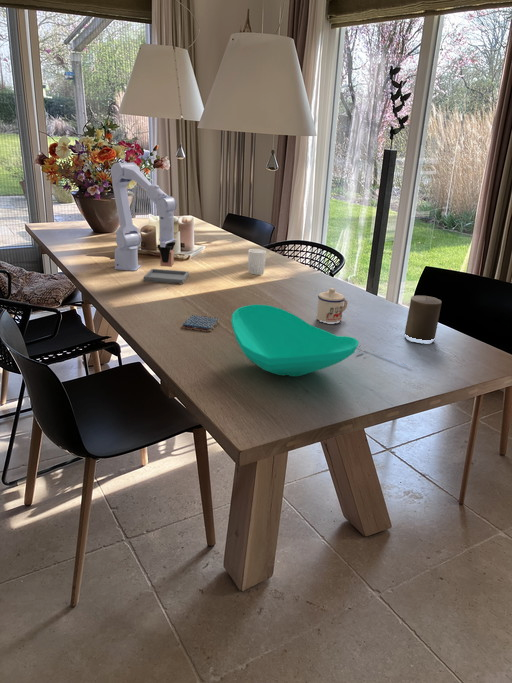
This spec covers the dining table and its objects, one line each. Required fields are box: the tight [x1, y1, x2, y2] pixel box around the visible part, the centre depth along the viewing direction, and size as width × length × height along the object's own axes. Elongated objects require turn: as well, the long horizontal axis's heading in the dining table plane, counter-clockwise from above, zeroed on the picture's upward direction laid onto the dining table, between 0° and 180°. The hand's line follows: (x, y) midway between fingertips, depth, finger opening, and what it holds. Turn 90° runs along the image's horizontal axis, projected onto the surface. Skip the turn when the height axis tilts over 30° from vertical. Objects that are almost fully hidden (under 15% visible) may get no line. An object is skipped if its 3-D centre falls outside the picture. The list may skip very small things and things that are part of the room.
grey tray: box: [143, 268, 190, 285], centre depth 232 cm, size 16×13×2 cm
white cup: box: [247, 248, 267, 276], centre depth 246 cm, size 8×8×10 cm
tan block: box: [159, 249, 175, 268], centre depth 229 cm, size 4×4×6 cm
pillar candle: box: [404, 295, 442, 340], centre depth 180 cm, size 10×10×15 cm
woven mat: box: [181, 314, 220, 333], centre depth 183 cm, size 10×11×2 cm
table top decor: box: [231, 304, 360, 377], centre depth 152 cm, size 40×28×13 cm
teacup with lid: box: [316, 287, 348, 322], centre depth 193 cm, size 12×9×12 cm
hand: (166, 260), depth 229 cm, fingers closed on tan block, 4 cm apart
